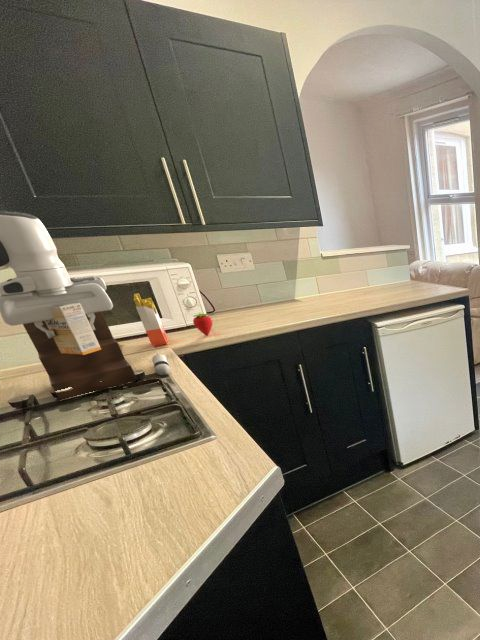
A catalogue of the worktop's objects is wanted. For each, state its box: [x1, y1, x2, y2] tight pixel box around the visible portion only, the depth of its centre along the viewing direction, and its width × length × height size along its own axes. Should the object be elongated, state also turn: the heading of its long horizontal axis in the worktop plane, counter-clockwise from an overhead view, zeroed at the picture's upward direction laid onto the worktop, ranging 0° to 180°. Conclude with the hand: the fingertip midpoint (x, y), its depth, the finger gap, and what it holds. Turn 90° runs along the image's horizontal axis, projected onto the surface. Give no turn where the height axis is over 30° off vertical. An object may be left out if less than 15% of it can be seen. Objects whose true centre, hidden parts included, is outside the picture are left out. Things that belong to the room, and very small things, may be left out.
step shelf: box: [22, 311, 138, 401], centre depth 116 cm, size 16×19×18 cm
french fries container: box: [133, 293, 169, 347], centre depth 150 cm, size 5×11×18 cm, turn 36°
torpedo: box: [149, 345, 171, 376], centre depth 127 cm, size 18×5×6 cm, turn 42°
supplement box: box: [45, 303, 101, 355], centre depth 110 cm, size 8×5×13 cm, turn 76°
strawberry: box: [192, 313, 213, 336], centre depth 159 cm, size 6×8×10 cm
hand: (72, 333), depth 111 cm, fingers closed on supplement box, 6 cm apart
